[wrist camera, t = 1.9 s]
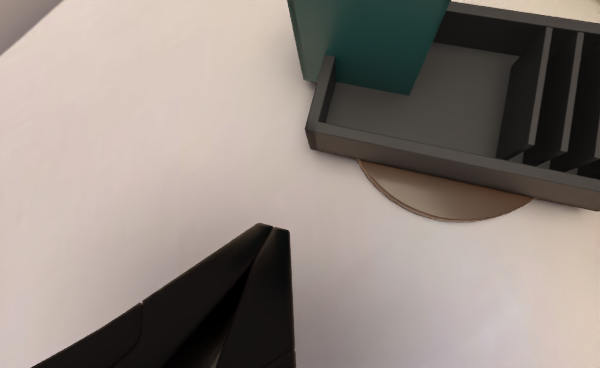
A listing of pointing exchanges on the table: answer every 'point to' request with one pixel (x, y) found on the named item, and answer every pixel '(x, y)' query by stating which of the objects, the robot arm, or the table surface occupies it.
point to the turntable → (441, 195)
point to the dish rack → (456, 92)
